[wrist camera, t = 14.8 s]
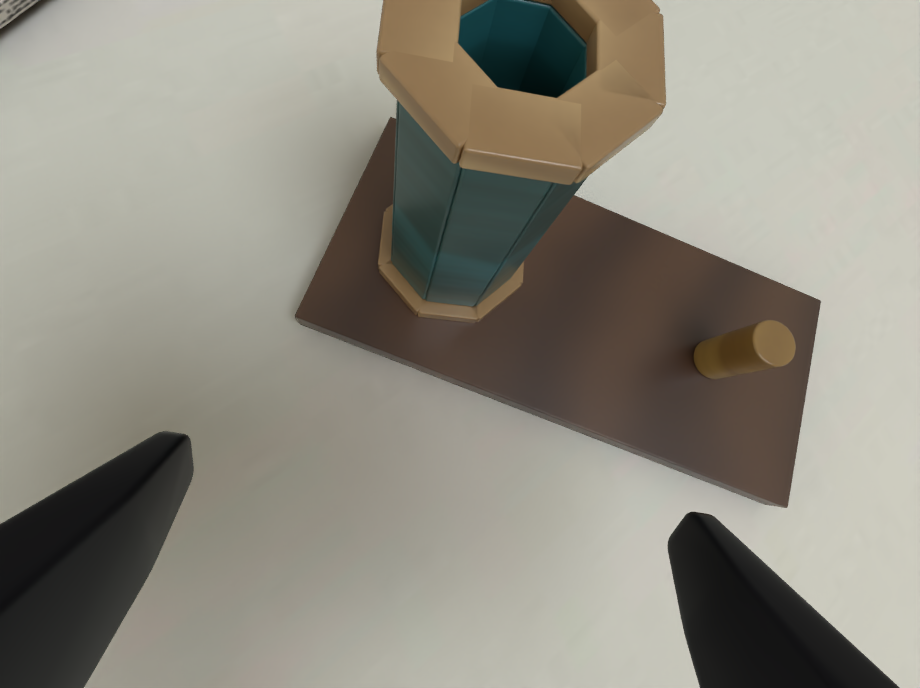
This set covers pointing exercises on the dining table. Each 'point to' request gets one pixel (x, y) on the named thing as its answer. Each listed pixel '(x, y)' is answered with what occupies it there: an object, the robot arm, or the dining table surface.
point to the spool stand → (600, 338)
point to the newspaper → (13, 9)
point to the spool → (502, 132)
